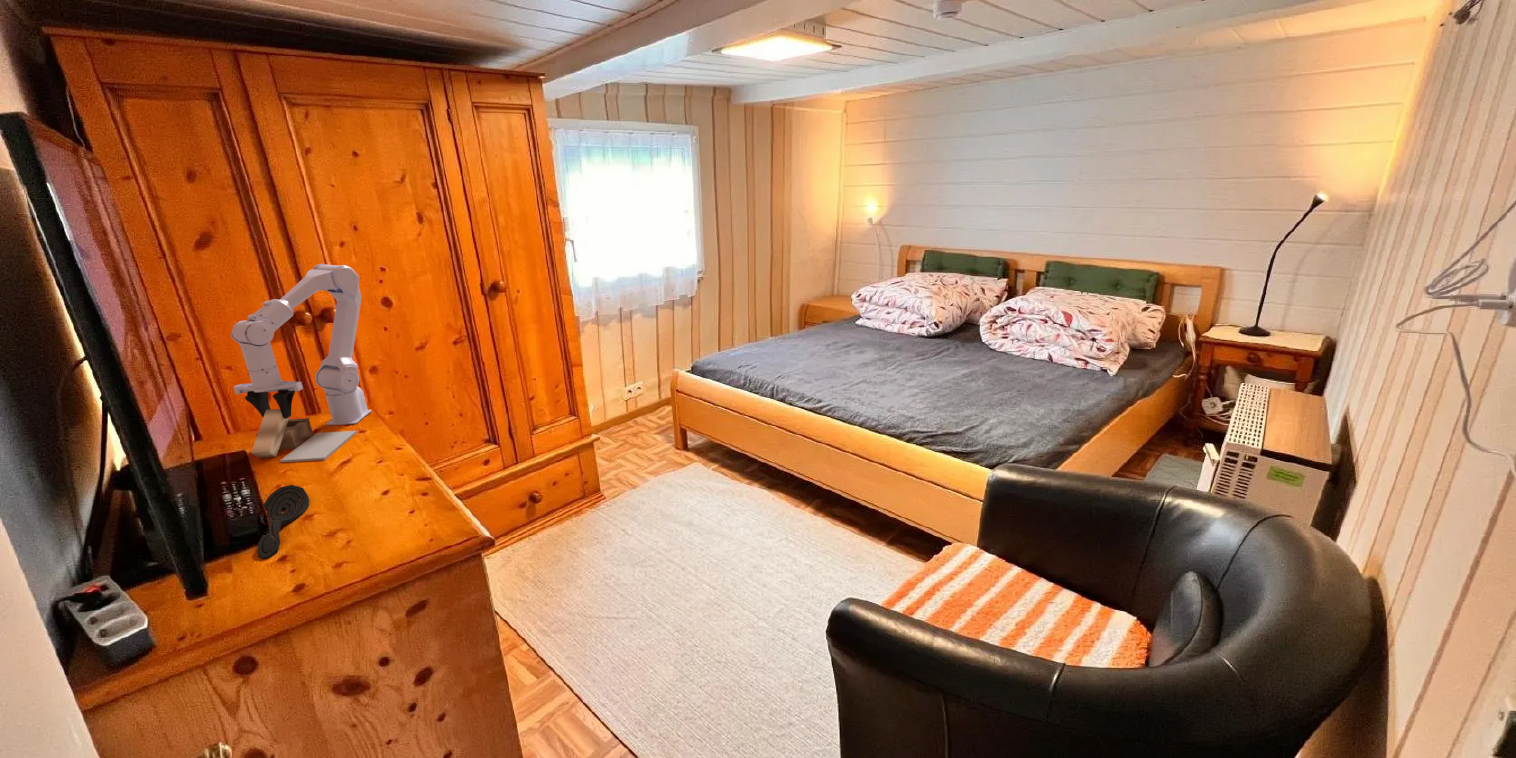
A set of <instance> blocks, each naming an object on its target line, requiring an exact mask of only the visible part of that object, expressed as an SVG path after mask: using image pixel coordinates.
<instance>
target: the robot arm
mask: <svg viewBox="0 0 1516 758" xmlns="http://www.w3.org/2000/svg"><path fill="white" fill-rule="evenodd" d="M360 279H361V278H360V275H359V274H358V273H357V272H356V271H355V269H353V267H350V266H348V265H345V264H344V265H334V264H327V263H326V264H325V263H318V264H316V265H315V266H313V268H312V269H310V270H308V271H307V272H306V274H305V276H304V277H303V278H302V279H301V280H299V282H297V283H296V285H294V286H293V287H292V288H291V289H290V290H289V291H288V292H287V293H286V294H284V295H283V296H282V297H281V298H280V299H278V298H277V299H274V298H271V299H270V300H265V301H264V302H262V305H263V306H262V307H260V308H259V309H258V310H256V311H255V312H254V313H252V314H248V316H247V320H245V319H244V320H240V321H238V322H236V323H235V324H234V325H233V326H232V330H231V333H230V337H231V339H232V340H233V341H234V342H236V343H238V344H239V346H240V349H241V352H242V356H243V359H244V362H245V365H246V368H247V372H248V374H249V378H250V380H251V383H240V384H237V385H234V386H233V391H234V393H235V395H241V394H246V396H244V399H245V401H247V402H248V403H249V404H251V406H253V407H254V408H255V409H256V410H257V411H258V413H259V414H260V415H261V417H262V418H263V417H264V414H265V411H266V410H271V406H270V403H269V393H270V392H272V393H273V392H276V393H274V394H273V395H272V398H273V399H274V401H275V402H276V403H277V405H278V408H279V409H280V410H281V414H282V416H283V418H284V419H287V418H288V417H289V418H290V417H292V405H293V400H294V396H295V393H296V392H300V391H301V390H303V389H304V387H303V384H302V383H303V382H302V381H292V380H291V381H290V380H282V378H281V374H280V371H279V367H278V364H277V362H276V356H275V354H274V350H273V348H272V344H271V341H272V340H273V339H274V335H275V332H276V331H277V330H278V329H279V328H280V327H282V326H283V325H284V324H285V323H286V322H287V321H289V320H290V319H291V318H292V317H294V309H295V308H296V307H298V306H299V305H301V304H302V303H303V302H305V301H306V300H307V299H308V298H310V297H312V295H314V294H315V293H317V292H319V291H326V292H328V293H329V294H330V295H331V296H332V297H333V298H334V299H335V300H336V307H335V312H334V319H333V324H332V331H331V338H330V344H329V350H328V355H327V356H326V357H325V358H324V359H322V361H321V362H320V366H319V369H318V370H317V371H316V373H315V376H314V380H315V382H316V383H315V384H316V385H317V386H319V387H320V388H322V390H323V392H324V394H325V398H326V401H327V405H328V409H329V412H330V416H331V419H329V421H327V422H326V423H325V425H326V426H339V425H340V426H341V425H355V424H358V423H359V422H360V421H361V420H362V419H364V418H365V417H366V416H367V415H369V414H370V413H371V412H372V409H368V406H367V401H366V398H365V394H364V391H363V389H362V388H361V387H359V383H360V376H359V366H358V364H357V363H356V362H355V361H354V359H353V355H354V347H355V342H356V336H357V329H358V325H359V324H358V323H359V317H360V310H361V305H362V294H361V290H360V286H359V284H360Z"/></svg>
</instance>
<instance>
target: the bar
mask: <svg viewBox="0 0 1516 758" xmlns="http://www.w3.org/2000/svg"><path fill="white" fill-rule="evenodd" d="M270 409H271V408H270ZM289 419H290V417H288V418H287V419H284V418H283V416H282V414H281V410H280V408H276V409H275V408H274V409H271V410H266V411H265V414H264V417H262V421H261V423H260V426H259V429H258V431H257V434H258V435H257V436H256V438H255V441H254V443H253V447H252V450H251V454H252V455H253V456H256V457H257V458H258V459H262V458H264V459H265V458H277V456H278V455H279V452H280V451H279V448H280V445H281V441H282V438H283V435H284V432H285V429H286V426H287V423H288V420H289Z"/></svg>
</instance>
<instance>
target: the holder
mask: <svg viewBox="0 0 1516 758" xmlns="http://www.w3.org/2000/svg"><path fill="white" fill-rule="evenodd" d="M257 435H258V433H256V434H255V436H256V437H257ZM313 435H314V432H313V428H312V425H311V421H310V418H309V417H307V418H306V417H305V418H303V417H302V418H289V420H288V423H287V426H286V429H285V432H284V435H283V438H282V441H281V445H280V448H279V450H295V449H296V448H297V447H299V446H300V445H301V444H303V443H304V442H305V441H307V440H308V439H309V438H311V437H312V436H313Z"/></svg>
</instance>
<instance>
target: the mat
mask: <svg viewBox="0 0 1516 758" xmlns="http://www.w3.org/2000/svg"><path fill="white" fill-rule="evenodd" d="M357 433H358V431H357V430H346V431H344V430H343V431H328V432H327V431H326V432H317V433H315V434H313V436H312V437H310V438H309V439H308V440H306V441H305V442H304V443H302V444H301V445H300V446H298V447H297V448H296V449H292V451H291V452H290V453H288V454H286V455H285V456H284V457H283V458H282V459H280V463H282V464H283V463H293V462H294V463H296V462H297V463H299V462H309V461H311V462H312V461H313V462H314V461H326V460H327V459H328V458H329V457H331V456H332V455H333V454H334V453H335V452H337V451H338V450H339V449H340V448H341V447H342V446H343V445H344V444H346V443H347V442H348V441H350V439H351V437H352V436H353V435H354V436H355V435H356V434H357ZM354 436H353V437H354ZM353 437H352V438H353Z"/></svg>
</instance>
